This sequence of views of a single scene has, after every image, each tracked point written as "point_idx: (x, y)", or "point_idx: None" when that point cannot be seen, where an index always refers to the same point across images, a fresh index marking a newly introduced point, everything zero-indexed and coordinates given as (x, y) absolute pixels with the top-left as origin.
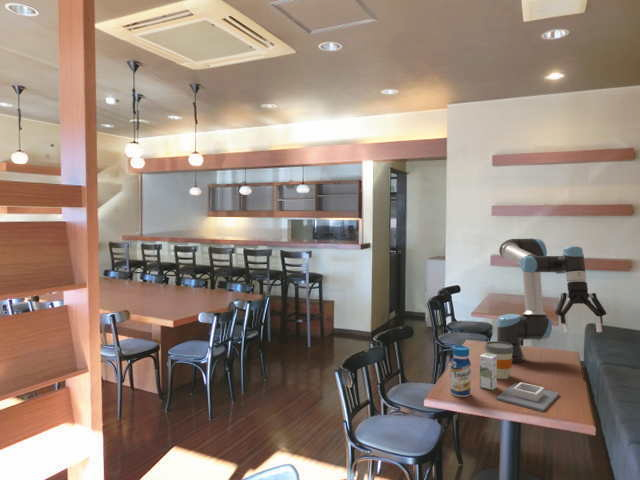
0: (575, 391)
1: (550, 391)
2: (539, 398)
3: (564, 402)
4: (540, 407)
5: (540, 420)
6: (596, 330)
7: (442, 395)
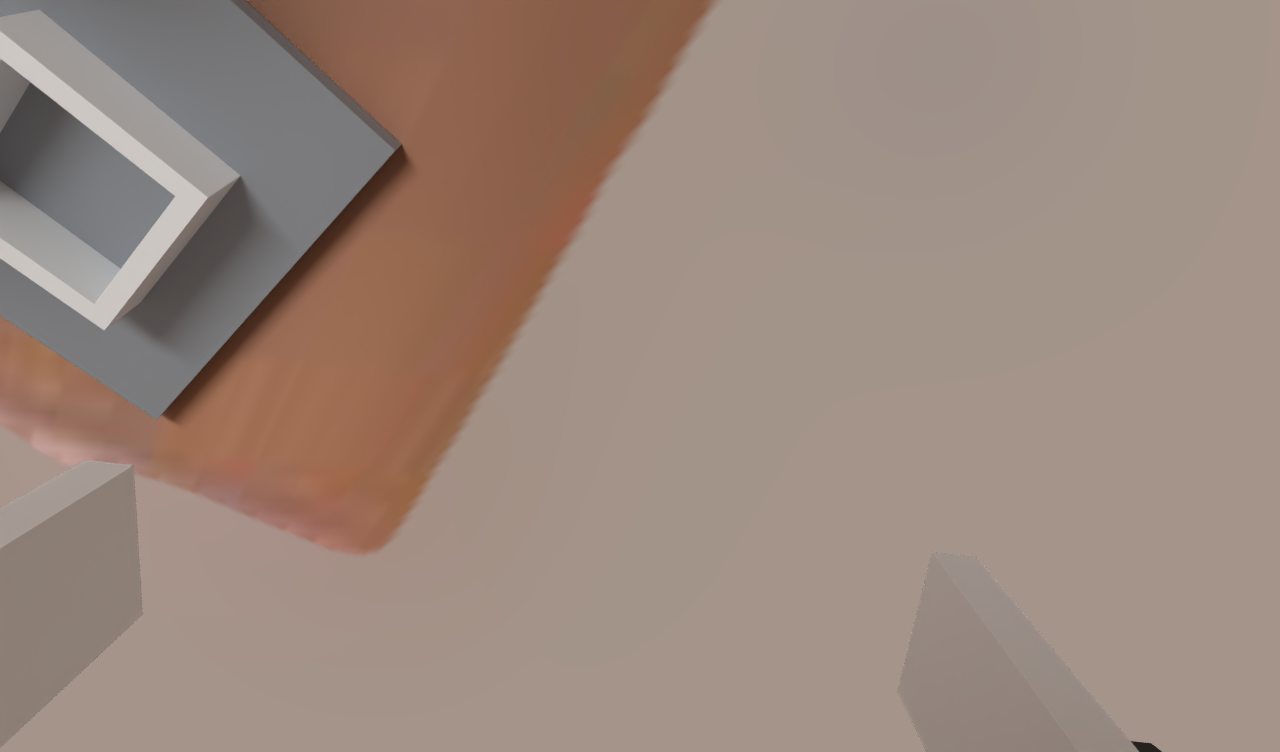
0: (608, 66)
1: (326, 109)
2: (170, 263)
3: (380, 286)
4: (143, 393)
5: None
6: (945, 578)
7: None
